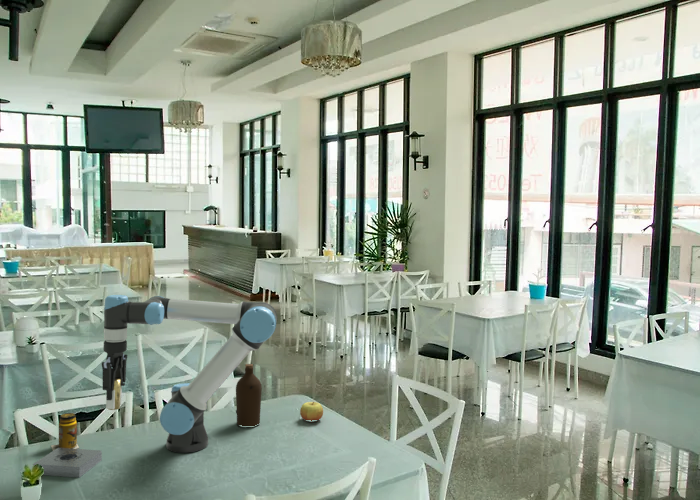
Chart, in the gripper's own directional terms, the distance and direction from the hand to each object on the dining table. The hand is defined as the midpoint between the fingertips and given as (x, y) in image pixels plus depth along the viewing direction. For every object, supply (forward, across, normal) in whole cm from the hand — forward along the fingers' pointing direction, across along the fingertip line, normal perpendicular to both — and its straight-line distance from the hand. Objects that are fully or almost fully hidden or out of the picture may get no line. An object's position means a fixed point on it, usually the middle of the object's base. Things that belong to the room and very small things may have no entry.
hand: (113, 406), depth 209 cm
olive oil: (+18, -44, +36) cm, 59 cm away
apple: (+18, -53, +61) cm, 83 cm away
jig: (+19, +8, -11) cm, 24 cm away
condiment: (+20, -8, -23) cm, 31 cm away
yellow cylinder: (+1, 0, 0) cm, 1 cm away
